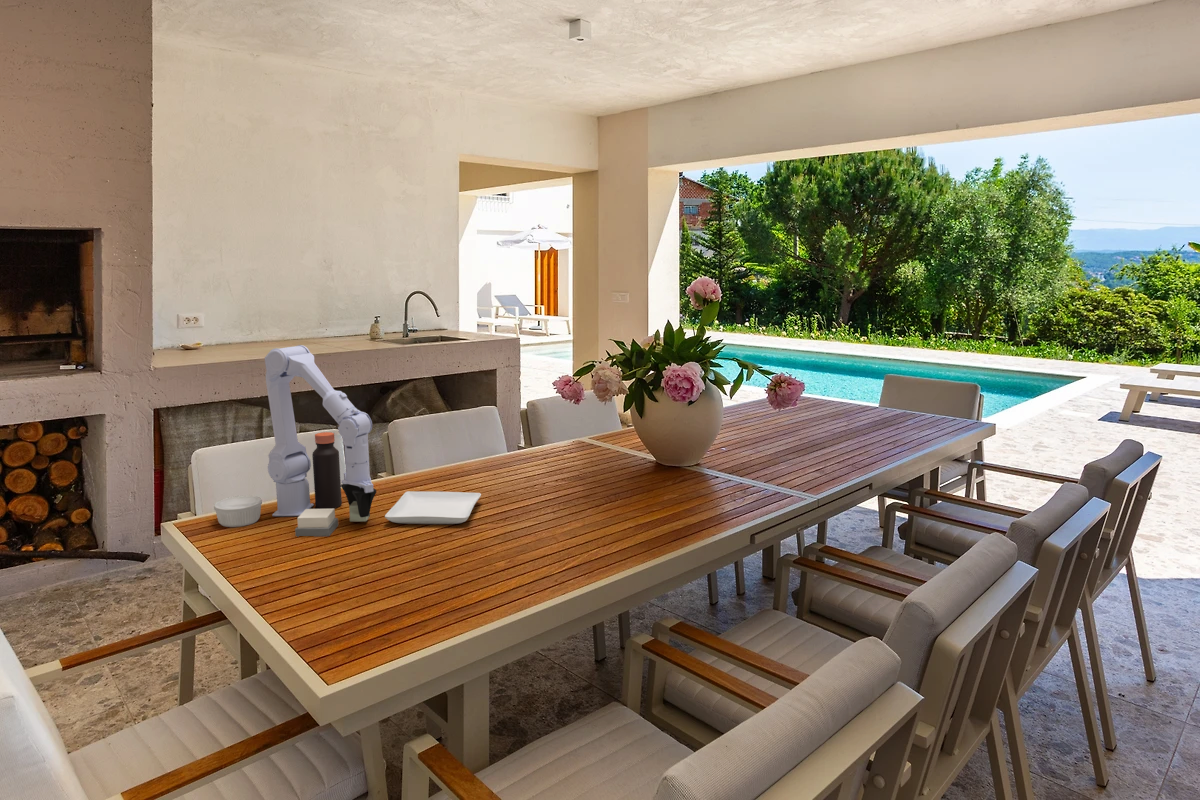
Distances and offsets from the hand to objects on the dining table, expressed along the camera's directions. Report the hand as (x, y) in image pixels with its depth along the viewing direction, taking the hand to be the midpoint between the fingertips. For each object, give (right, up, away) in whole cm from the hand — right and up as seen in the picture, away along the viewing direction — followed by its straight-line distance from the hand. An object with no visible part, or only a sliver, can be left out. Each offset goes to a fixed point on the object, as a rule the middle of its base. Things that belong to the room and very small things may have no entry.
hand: (359, 513), depth 200 cm
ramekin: (-31, -2, +1) cm, 31 cm away
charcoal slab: (-9, -4, -6) cm, 11 cm away
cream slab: (-9, -2, -6) cm, 11 cm away
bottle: (-13, 0, +14) cm, 19 cm away
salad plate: (+18, -2, +7) cm, 19 cm away
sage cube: (0, -1, 0) cm, 2 cm away
